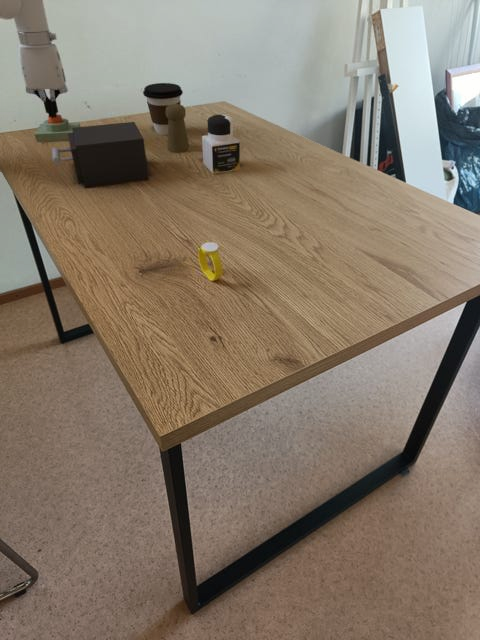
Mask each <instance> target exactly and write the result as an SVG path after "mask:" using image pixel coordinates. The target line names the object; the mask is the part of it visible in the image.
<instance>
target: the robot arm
mask: <svg viewBox="0 0 480 640" xmlns="http://www.w3.org/2000/svg"><path fill="white" fill-rule="evenodd" d="M44 4H45V3H44V0H0V19H2V20H14V24H15V28H16V32H17V37H18V40H19V45H18V58H19V64H20V71H21V76H22V79H23V83H24V86H25V93H27V94H30V95H35V96H36V97H38V98H39V99H40V100H41V102H43V105H44V110H45V113H46V114H47V115H48V116H49V117H52V116H53V117H56V115H57V114H59V109H58V105H57V100H56V99H58V97H59V96H60V95H62V94H66V93H68V91H69V88H68V85H67V78H66V74H65V70H64V67H63V63H62V60H61V55H60V53H59V50H58V47H57V45H56V44H55V43H53V41H56V40H58V37H57V34H56V33H53V32H52V31H51V30H50V29H49V24H48V23H49V22H48V18H47V14H46V9H45V5H44ZM46 90H49V97H48V94H47V92H46Z"/></svg>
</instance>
